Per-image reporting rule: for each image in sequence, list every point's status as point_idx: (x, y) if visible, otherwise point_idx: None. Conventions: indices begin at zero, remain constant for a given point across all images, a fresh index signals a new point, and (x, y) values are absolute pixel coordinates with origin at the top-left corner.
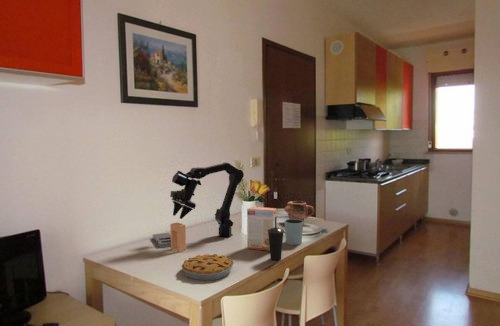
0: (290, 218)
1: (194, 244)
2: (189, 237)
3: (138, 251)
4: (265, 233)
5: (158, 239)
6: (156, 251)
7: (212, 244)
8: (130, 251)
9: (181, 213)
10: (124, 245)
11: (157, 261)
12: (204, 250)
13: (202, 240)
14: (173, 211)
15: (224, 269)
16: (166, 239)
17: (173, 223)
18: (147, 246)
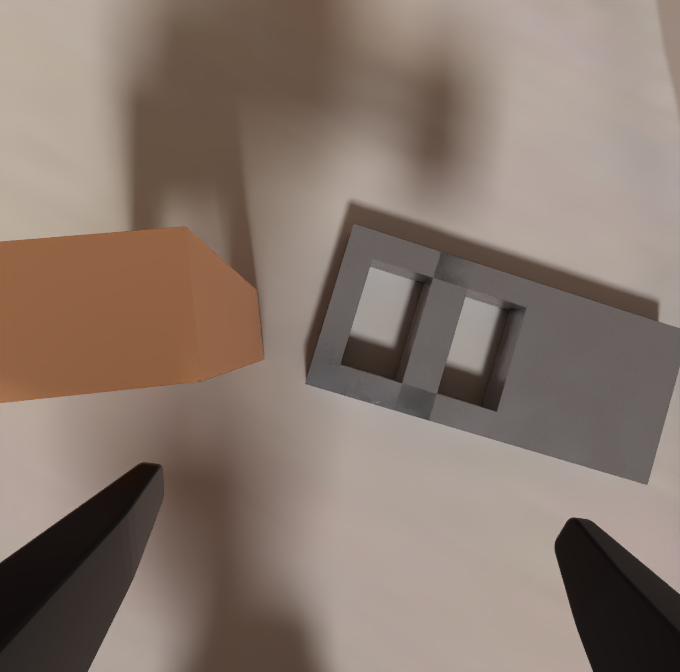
0: None
1: (231, 520)
2: (456, 602)
3: (388, 60)
4: None
5: (500, 292)
6: (285, 168)
7: (114, 649)
8: (433, 14)
9: (8, 561)
10: (618, 53)
11: (44, 47)
12: (13, 492)
13: (288, 646)
14: (673, 595)
15: None
16: (497, 379)
17: (176, 290)
18: (464, 180)
